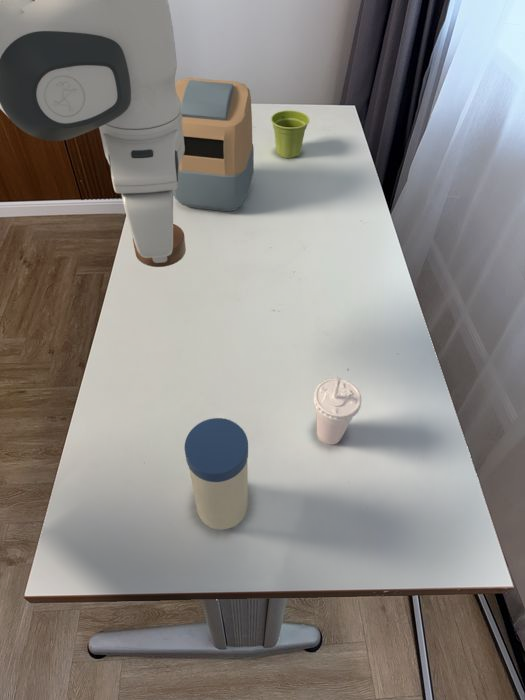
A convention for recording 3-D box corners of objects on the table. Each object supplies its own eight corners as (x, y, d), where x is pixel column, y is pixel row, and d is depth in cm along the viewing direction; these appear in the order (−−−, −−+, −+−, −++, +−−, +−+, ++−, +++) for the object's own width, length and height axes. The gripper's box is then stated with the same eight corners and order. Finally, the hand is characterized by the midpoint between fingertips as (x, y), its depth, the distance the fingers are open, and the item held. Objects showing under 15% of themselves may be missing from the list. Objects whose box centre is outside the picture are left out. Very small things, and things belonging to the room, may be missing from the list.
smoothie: (300, 423, 76) (308, 366, 65) (337, 410, 78) (351, 351, 67) (320, 459, 72) (332, 404, 61) (359, 444, 74) (377, 387, 63)
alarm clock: (169, 210, 111) (153, 103, 93) (188, 171, 122) (177, 68, 104) (243, 219, 109) (242, 111, 92) (256, 178, 120) (257, 75, 102)
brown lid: (162, 274, 64) (159, 259, 62) (125, 254, 66) (121, 239, 65) (196, 248, 68) (194, 233, 66) (159, 230, 70) (157, 215, 68)
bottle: (226, 541, 64) (221, 486, 52) (185, 510, 67) (171, 450, 55) (258, 499, 68) (260, 438, 56) (218, 471, 71) (211, 407, 58)
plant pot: (266, 159, 126) (267, 125, 119) (274, 141, 132) (275, 108, 125) (302, 164, 125) (305, 130, 118) (309, 146, 131) (312, 112, 124)
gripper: (115, 97, 61) (134, 197, 72) (111, 188, 48) (134, 294, 59) (168, 95, 62) (179, 194, 73) (177, 184, 49) (189, 289, 59)
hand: (159, 240), depth 66 cm, fingers closed on brown lid, 6 cm apart
